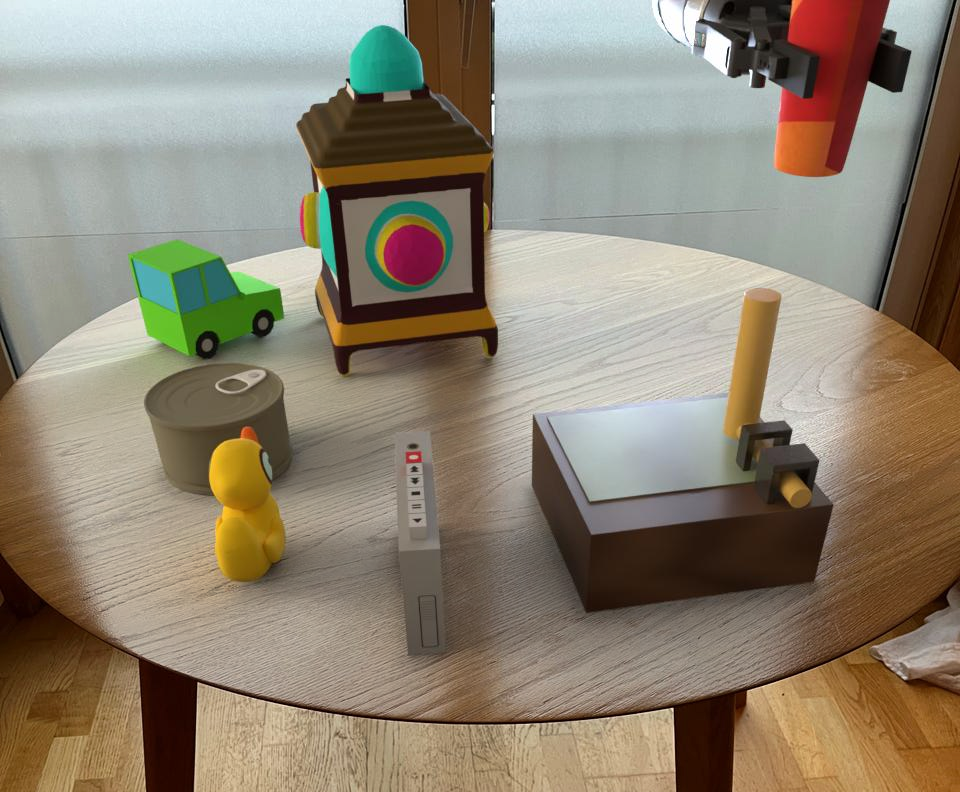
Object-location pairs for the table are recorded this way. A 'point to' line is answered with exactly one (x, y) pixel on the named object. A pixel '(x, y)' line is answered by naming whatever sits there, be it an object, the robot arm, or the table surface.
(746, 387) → the bolt
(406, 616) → the cassette player
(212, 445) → the can
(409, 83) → the decorative lantern
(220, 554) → the duckling
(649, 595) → the chest
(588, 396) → the table surface
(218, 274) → the toy car
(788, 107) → the paper cup
